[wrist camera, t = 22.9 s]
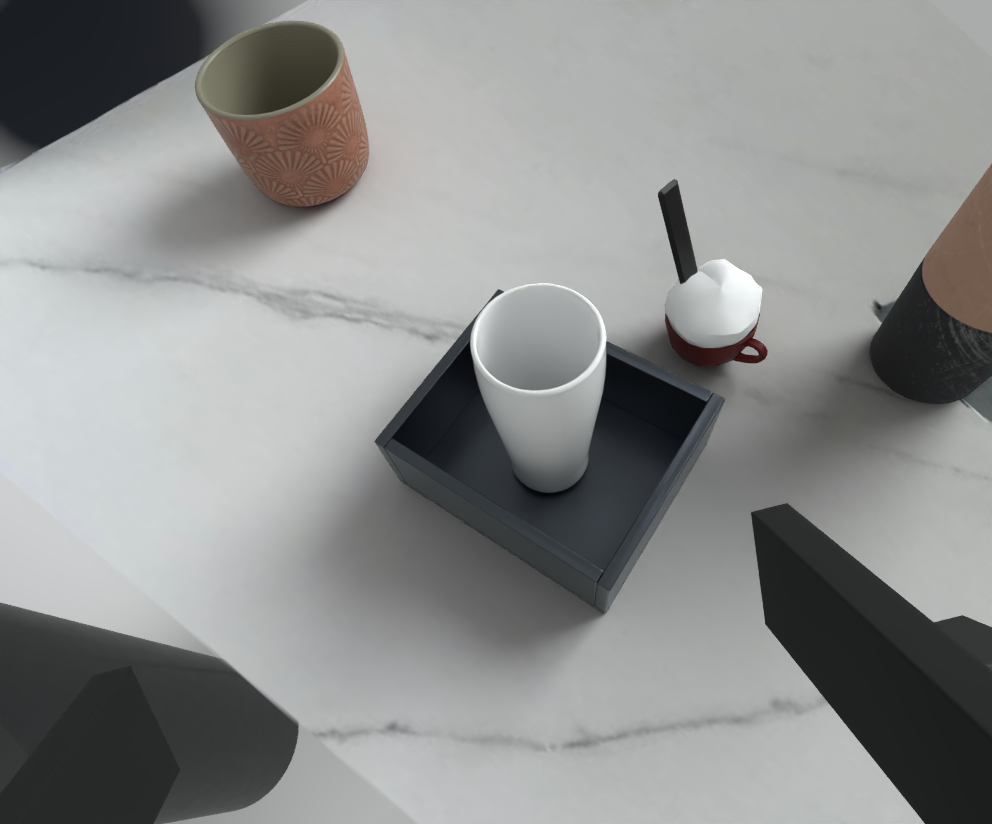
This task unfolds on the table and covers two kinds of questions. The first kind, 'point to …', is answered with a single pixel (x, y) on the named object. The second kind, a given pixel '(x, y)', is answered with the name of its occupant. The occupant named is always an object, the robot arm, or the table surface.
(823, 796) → the table surface
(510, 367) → the white cup
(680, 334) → the cocoa
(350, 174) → the planter
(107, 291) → the table surface
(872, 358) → the travel mug
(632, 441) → the dark storage bin
